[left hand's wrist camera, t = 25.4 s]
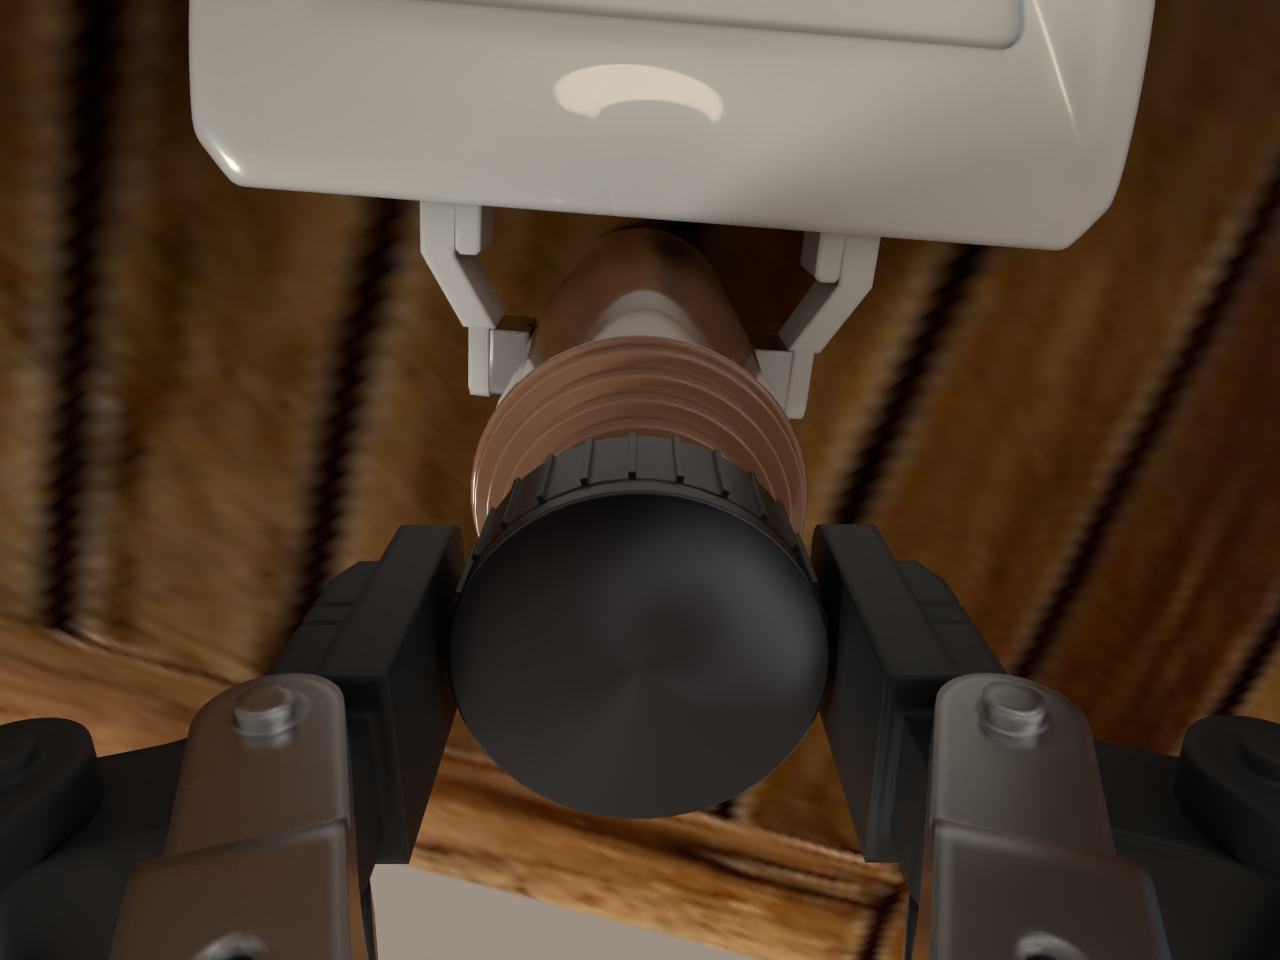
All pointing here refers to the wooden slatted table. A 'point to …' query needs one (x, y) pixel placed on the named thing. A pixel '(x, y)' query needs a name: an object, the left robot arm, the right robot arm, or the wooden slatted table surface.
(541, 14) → the right robot arm
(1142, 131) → the wooden slatted table surface
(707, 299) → the bottle
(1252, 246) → the wooden slatted table surface
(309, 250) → the wooden slatted table surface
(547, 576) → the cap
